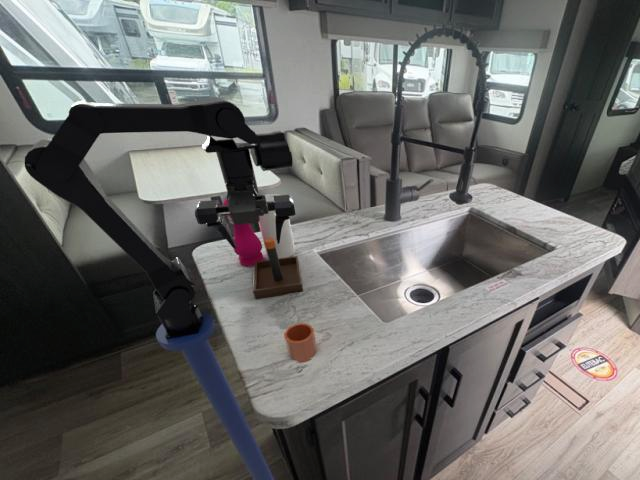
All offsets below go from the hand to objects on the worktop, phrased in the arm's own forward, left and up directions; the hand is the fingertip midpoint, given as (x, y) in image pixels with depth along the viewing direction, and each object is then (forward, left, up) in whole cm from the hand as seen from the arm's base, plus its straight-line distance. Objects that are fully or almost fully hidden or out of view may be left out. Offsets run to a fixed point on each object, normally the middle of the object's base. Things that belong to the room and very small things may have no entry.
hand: (257, 245), depth 72 cm
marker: (+2, +4, -12) cm, 13 cm away
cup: (+3, +19, -13) cm, 23 cm away
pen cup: (+6, -24, -13) cm, 28 cm away
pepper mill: (-5, +16, -13) cm, 21 cm away
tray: (+2, +4, -13) cm, 14 cm away
